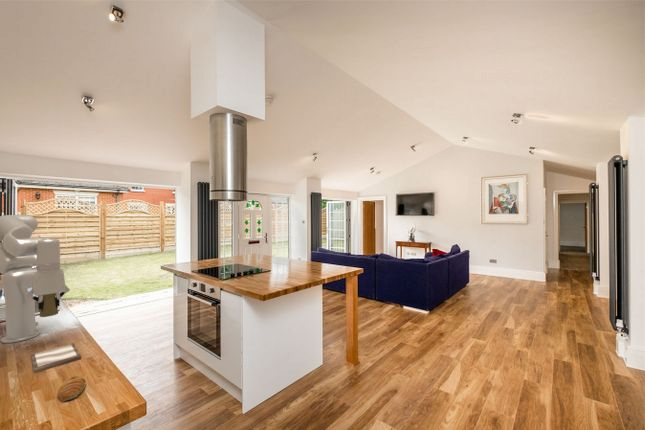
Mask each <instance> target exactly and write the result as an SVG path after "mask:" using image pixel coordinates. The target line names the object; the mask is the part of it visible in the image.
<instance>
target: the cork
mask: <svg viewBox="0 0 645 430" xmlns="http://www.w3.org/2000/svg"><path fill="white" fill-rule="evenodd" d="M55 295H56V293H55V294H48V295H42V296H43V302H44V306H43V311H42V309H41V310H39V317H40V318H47V317H52V316H53V317H54V316H56V315H58V314H59V308H58V309H56V303H55V300H56V298H55V297H56V296H55Z"/></svg>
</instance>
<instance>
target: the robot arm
mask: <svg viewBox="0 0 645 430" xmlns="http://www.w3.org/2000/svg"><path fill="white" fill-rule="evenodd" d="M37 228H38V220H37V219H36V217H34V216H33V215H31V214H7V215H5V214H4V215H1V216H0V274H2V276H1V278H0V284H1V286H2V290H3V293H4V306H5V307H4V308H5V310H4V311H5V336H4V337H2V338H1V339H0V341H1V343H3V344H13V343H19V342H23V341H27V340H30V339H33V338H36V337H38V336H39V335H40V334H41V330H40V329H37V328H36V327H37V326H38V325H39V322H37V321H36V302H37V303H38V310H39V311H40V310H41V309H42V311H43V306H44V302H43V296H42V295H48V294H55V293H56V295H55V298H56V300H55V303H56V309H58V310H59V307H60V305H61V303H60V302H61V301H60V299H61V298H62V297H63V296H65V294H67V293H69V292H70V290H71V289H70V288H69V287H68V286H67V285H66V280H65V278H66V277H65V274H64V270H63V268H61V246H60V245H61V243H60V242H61V241H60V240H59V239H58V238H51V237H49V236H48V237H47V236H46V237H32V235H33V233H34V232H35V231H36V230H37ZM28 289H31V290H30V291H29V290H28Z"/></svg>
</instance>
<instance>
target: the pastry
mask: <svg viewBox="0 0 645 430" xmlns="http://www.w3.org/2000/svg"><path fill="white" fill-rule="evenodd" d="M86 384H87V380H86V379H85V378H83V377H82V376H81V375H74V376H73V375H72V376H70V377H69V378H67V379H65V380H64V381H63V382H62V384H61V385H60V386H59V388H58V389H57V396H58V398H59V401H61V402H66V401H69V400H72V399H73V400H74V399H75V398H77V397H78V396H80V394H81V393H83V391H84V389H85V387H86Z"/></svg>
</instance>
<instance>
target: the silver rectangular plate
mask: <svg viewBox="0 0 645 430" xmlns="http://www.w3.org/2000/svg"><path fill="white" fill-rule="evenodd" d="M30 359H31V363H32V368H33V369H32V370H33V373H34V374H35V373H39V372H43V371H46V370H48V369H52V368H56V367H58V366H62V365H65V364H69V363H72V362H76V361H79V360H81V359H82V356H81V353H80V352H79V350H78V348H77V347H76V345H75V344H74V343H69V344H65V345H60V346H57V347H54V348H51V349H46V350H42V351H39V352H34V353H30Z"/></svg>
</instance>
